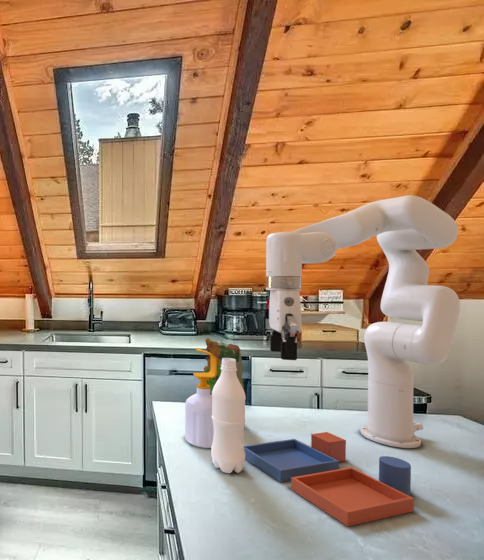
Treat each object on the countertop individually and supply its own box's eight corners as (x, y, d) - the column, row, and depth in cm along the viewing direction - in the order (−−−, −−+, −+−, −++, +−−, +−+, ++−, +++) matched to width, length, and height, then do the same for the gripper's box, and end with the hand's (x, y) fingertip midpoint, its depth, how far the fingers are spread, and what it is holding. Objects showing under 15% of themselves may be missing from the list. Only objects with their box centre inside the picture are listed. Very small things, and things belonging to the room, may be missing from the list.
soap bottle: (181, 433, 107) (182, 345, 107) (214, 434, 107) (215, 346, 106) (190, 448, 98) (191, 352, 98) (226, 449, 98) (227, 352, 97)
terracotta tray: (351, 478, 84) (351, 466, 84) (414, 511, 72) (414, 498, 72) (291, 489, 79) (291, 477, 79) (347, 526, 68) (347, 512, 68)
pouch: (244, 434, 107) (244, 344, 107) (199, 426, 112) (200, 341, 112) (245, 420, 117) (245, 338, 117) (204, 414, 122) (204, 335, 122)
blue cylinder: (390, 482, 82) (390, 454, 82) (416, 495, 77) (417, 466, 77) (372, 486, 81) (373, 457, 81) (398, 499, 76) (399, 469, 76)
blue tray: (294, 448, 98) (294, 438, 98) (339, 471, 86) (339, 460, 86) (240, 456, 94) (241, 446, 94) (280, 482, 82) (280, 470, 82)
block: (326, 451, 96) (326, 431, 96) (345, 460, 92) (345, 440, 92) (310, 454, 95) (311, 433, 95) (329, 463, 90) (329, 442, 90)
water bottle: (248, 477, 84) (249, 363, 83) (213, 474, 85) (214, 361, 85) (241, 462, 91) (242, 356, 90) (209, 459, 92) (209, 355, 92)
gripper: (313, 285, 83) (313, 364, 83) (290, 283, 99) (289, 349, 100) (275, 284, 85) (274, 362, 85) (258, 283, 101) (258, 348, 102)
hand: (282, 355), depth 92 cm, fingers open, 9 cm apart
